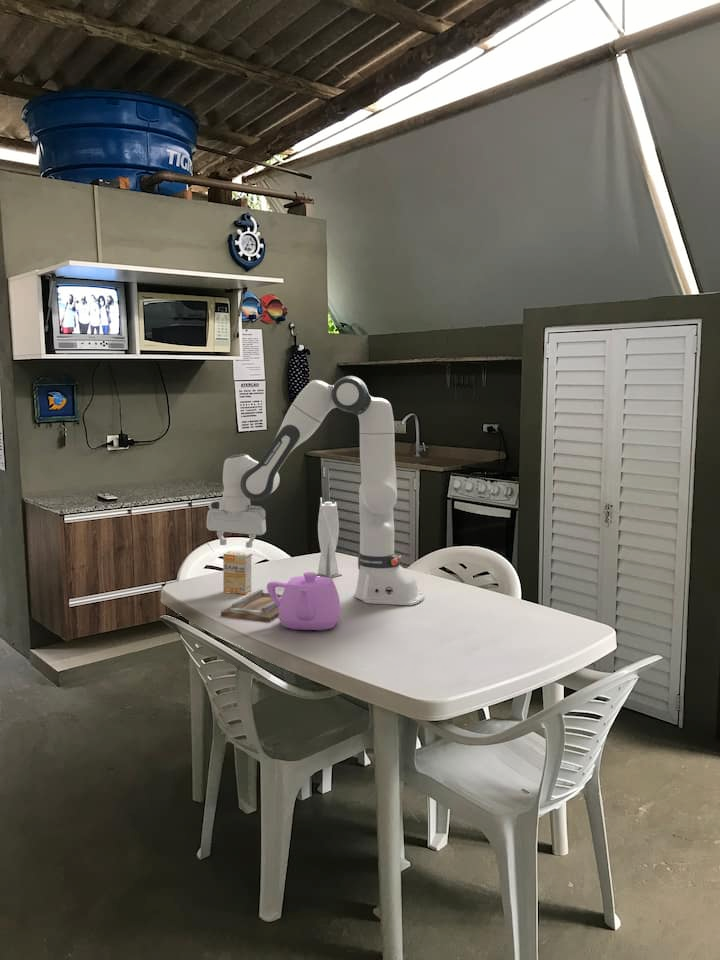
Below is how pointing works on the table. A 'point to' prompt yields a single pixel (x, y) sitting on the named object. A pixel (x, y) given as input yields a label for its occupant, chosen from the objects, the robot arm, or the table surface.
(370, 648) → the table surface
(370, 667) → the table surface
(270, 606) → the rail board
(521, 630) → the table surface
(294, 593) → the teapot
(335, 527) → the skyscraper
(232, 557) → the supplement box
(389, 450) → the robot arm
